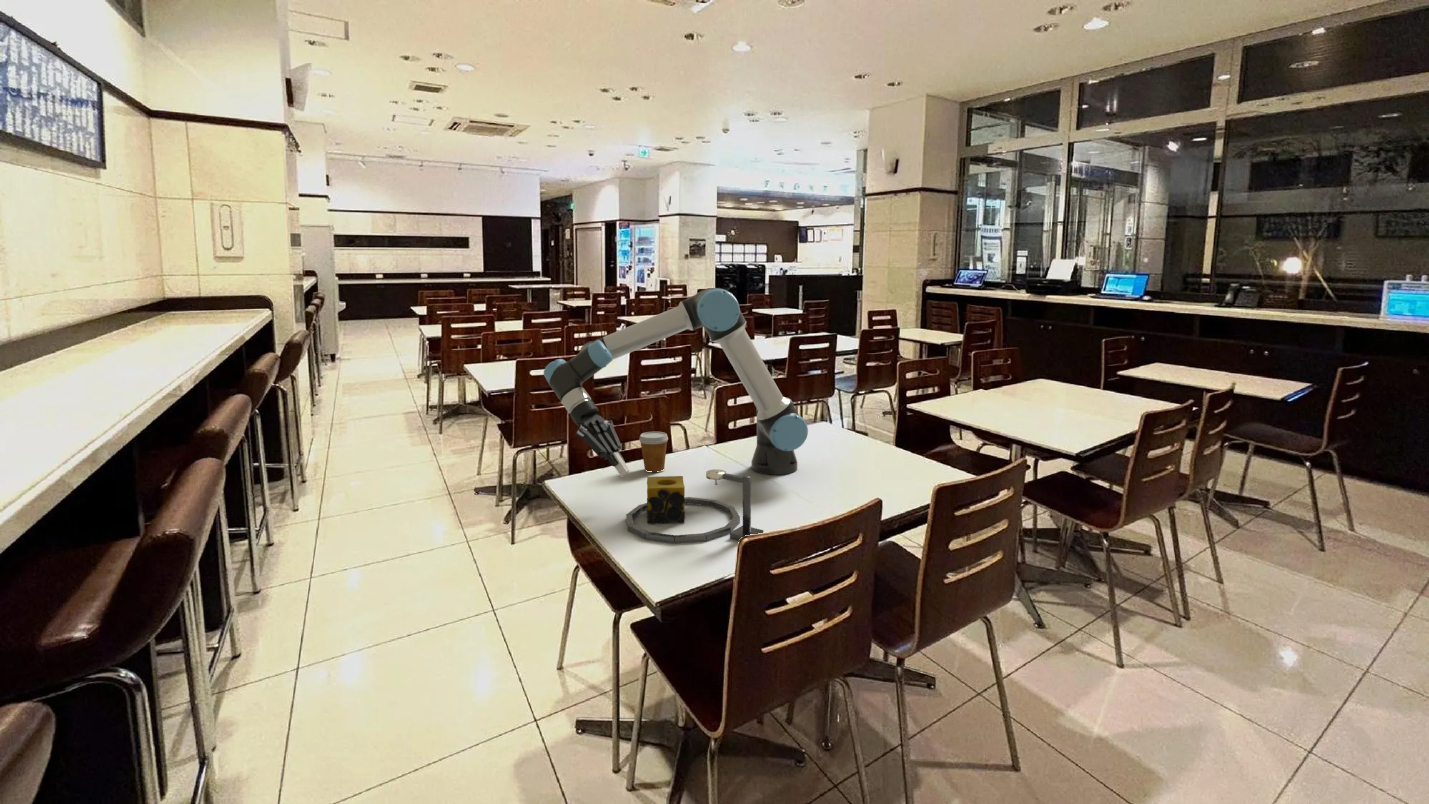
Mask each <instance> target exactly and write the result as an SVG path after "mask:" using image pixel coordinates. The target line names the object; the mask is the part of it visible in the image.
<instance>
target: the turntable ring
mask: <svg viewBox="0 0 1429 804" xmlns="http://www.w3.org/2000/svg"><path fill="white" fill-rule="evenodd" d="M684 501H685V502H684V505H697V506H704V507H713V508H714V509H717V510H720V511H722V512H724V513H728V514H729V516H730V518H731V519H730V521H729V522H728V523H726V525H725V526H721V527H718V528H715V529H712V530H710V531H706V532H704V533H703V532H702V533H701V532H700V533H699V532H698V533H689V534H687V533H686V534H676V535H675V534H668V533H667V534H666V533H660V532H653V531H648V530H646V529H644V528H643V527H640V526H639V525H637V524H634V519H635V518H637V517H638V516H639V515H641V514H642V513H644V512H647V502H646V503H641V504H638V505H637V506H636V507H634V508H633V509H632V510H630V511H629V512H627V513H626V514H625V522H626V527H627V531H628V532H629V533H632V534H634V535H636V536H638V537H639V538H642V539H644V540H646V541H652V542H660V543H667V544H687V543H701V542H708V541H711V540H715V539H717V538H720V537H723V536H727V535H730V532H732V531H734V530H736V529H737V526H738V525H740V523H741V516H740V515H739V513H738V511H737V509H736V508H735V507H734V506H732V505H730V504H728V503H725V502H722V501H720V500H717V499H713V498H711V499H710V498H701V497H693V496H686V497H685V498H684Z"/></svg>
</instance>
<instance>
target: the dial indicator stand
mask: <svg viewBox="0 0 1429 804" xmlns="http://www.w3.org/2000/svg"><path fill="white" fill-rule="evenodd" d="M705 477H706V479H708V480H711V481H714V485H715V486H717V485H718V481H720V480H726V481H729V482H730V481H731V482H734V483H735V482H736V483H740V484H742V525H741V526H739V527H738V528H737V527H736V528H735V529H734V530H733V531H732V532H730V534H729V539H730V540H734V541H738V540H739V539H740V538H741V537H744V536H745V535H750V534H758V533H763V532H765V531H764V530H765V529H764V530H763V529H759V528H756V527H752V510H751V509H752V477H751V475H737V474H732V473H727V471H726V470H723V469H716V468H715V469H709V470H707V471H705ZM738 542H739V541H738Z"/></svg>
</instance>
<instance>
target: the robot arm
mask: <svg viewBox="0 0 1429 804" xmlns="http://www.w3.org/2000/svg"><path fill="white" fill-rule="evenodd" d="M739 304H740V303H739V301H738V300H737V298H736V296H735V295H733V293H732V292H730V291H728V290H727V289H723V288H720V287H719V288H716V287H708V288H704V289H702V290H701V291H699V292H697V293H696V294H694V295H692V296H689V297H688V298H685V299H684V300H681V301H680V302H679V303H678V305H677V306H676V307H673V308H671V309H668V310H666V311H665V310H664V311H663V312H661V313H658V314H656V315H654V316H652V317H649V318H646V319H643V320H641V321H639V322H637V323H634V324H632V325H629V326H626V327H625V328H622V329H620V330H617V331H615V332H612V333H609V334H608V335H605V336H602V337H601V338H599V339H595V340H593V341H588V342H586V343H584V344H583V345H582V346H581V347H580V349H579V353H576V355H575V356H573V357H571V359H569V360H567V361H566V360H565V359H563V358H559V359H555V360H554V361H551V362H549V363H548V364H547V365H546V366H545V368H544V370H543V375H544V378H545V380H546V382H547V383H548V386H549V387H550V388H551V389H552V391H553V392H554V393H555V395H556V396H557V398H558V399H559V400H560V402H561V404H562V406H564V408H565V410H566V412H567V413H568V414H569V415H570V417H571V419H572V421H573V422H574V424H575V425H577V426H578V428H579V429H578V430H577V431H576V432H575V435H576V436H577V437H578V438H580V439H582V441H584V442H585V443H586V445H587V446H588V447H589V448H590V449H591V450H592V451H593V452H594V453H595V454H596V455H597V457H599V458H600V459H602V458H603V460H605V461H606V460H607V461H608V462H609V463H610V464H611V466H612V467H614V468H615V470H616V471H617V473H618V474H619V477H621V478H622V477H626V476H627V475H628V473H629V472H630V471H631V469H630V468H629V466H628V465H627V464H626V462H625V459H624V457H623V456H622V454H621V452H620V451H621V449H622V448H623V445H622V444H621V442H620V438H619V437H618V434H617V432H616V430H615V428H614V422H613V420H612V419H610V420H608V421H606V420H605V419H604V418H603V416H601V415H600V413H599V412H600V411H599V409H598V407H597V405H596V404H595V402H594V401H593V400H592V397H591V396H590V395H589V393H588V392H587V391H586V389H585V388H584V386H583V385H582V384H583V383H584V382H586V381H587V380H588V379H590V378H591V377H593V376H594V375H595V374H597V373H599V372H600V371H601V370H602V369H604V368H606V367H607V366H608V365H609V364H610V363H611V362H612V361H613V360H615V359H618V358H620V357H623V356H625V355H629V354H630V353H633V352H635V351H637V350H640V349H643V348H646V347H647V346H649V345H651V344H654V343H657V342H659V341H662V340H665V339H666V338H669V337H671V336H674V335H677V334H679V333H682V332H683V331H686V330H689V331H694V330H697V329H700V328H704V330H705V332H706V333H707V335H708V337H709V338H710V340H711V341H712V343H716V344H719V346H720V348H721V349H722V351H723V352H724V354H725V356H726V357H727V359H728V362H729V363H730V364H731V366H732V367H733V370H734V371H735V373H736V375H737V376H738V378H739V380H740V381H741V383H742V385H743V387H744V388H745V390H746V392H747V394H748V395H749V397H750V398H751V400H752V403H754V406H755V408H756V409H755V410H756V411H755V412H756V447H755V450H754V453H753V456H752V458H751V465H750V467H751V470H752V471H754V472H756V473H759V474H764V475H788V474H791V473H794V472H796V471H797V470H798V459H797V457H796V453H795V450H797V449H800V447H801V446H803V444H805V441H806V440H807V439H808V434H809V428H808V424H807V421H805V419H804V418H803V417H802V416H801V415H800V413H799V412H798V410H797V409H796V407H795V405H794V403H793V401H792V399H790V398H789V397H785V396H784V395H783V394H782V392H781V391H780V389H779V387H778V386H777V384H776V382H775V380H774V378H773V376H772V375H771V372H770V371H769V370H768V368H767V366H766V364H765V362H764V360H763V359H762V357H761V355H760V354H759V352H758V350H757V348H756V347H755V344H754V343H753V341H752V339H751V337H750V336H749V334H748V332H747V331H746V325H747V320H746V319H745V317H744V314H743V313H742V311H741V308H740V305H739Z"/></svg>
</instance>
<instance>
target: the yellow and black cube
mask: <svg viewBox="0 0 1429 804" xmlns="http://www.w3.org/2000/svg"><path fill="white" fill-rule="evenodd" d="M646 485H647V486H646V487H647V489H646V495H647V496H646V497H647V498H646V503H647V511H646V519H647V522H646V523H647V524H648V525H661V524H663V525H664V524H681V523H682V524H684V523H685V522H686V510H685V508H686V507H685V504H684V502H685V501H684V498H685V486H686V485H685V483H684V476H683V475H667V476H666V475H665V476H659V475H658V476H647V479H646Z"/></svg>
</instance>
